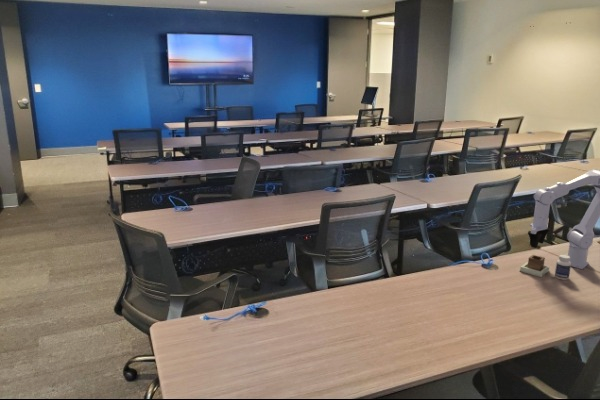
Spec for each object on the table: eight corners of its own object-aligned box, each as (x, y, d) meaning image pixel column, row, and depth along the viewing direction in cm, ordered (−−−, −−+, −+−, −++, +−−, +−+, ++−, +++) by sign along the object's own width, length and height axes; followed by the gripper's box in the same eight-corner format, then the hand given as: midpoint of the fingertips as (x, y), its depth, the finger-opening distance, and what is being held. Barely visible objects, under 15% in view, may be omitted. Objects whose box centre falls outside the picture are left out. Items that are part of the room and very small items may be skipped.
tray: (527, 265, 208) (528, 260, 207) (548, 271, 202) (549, 266, 201) (519, 271, 202) (520, 266, 201) (541, 277, 196) (542, 272, 195)
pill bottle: (570, 280, 192) (574, 259, 190) (556, 279, 193) (560, 258, 191) (566, 275, 197) (569, 254, 195) (552, 274, 199) (555, 253, 196)
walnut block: (531, 267, 205) (532, 254, 203) (543, 270, 201) (544, 257, 200) (527, 270, 201) (528, 257, 200) (538, 273, 198) (540, 261, 196)
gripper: (537, 211, 209) (533, 238, 213) (525, 218, 200) (521, 246, 203) (554, 214, 204) (549, 242, 208) (542, 221, 195) (538, 251, 198)
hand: (537, 244), depth 205 cm, fingers open, 7 cm apart
